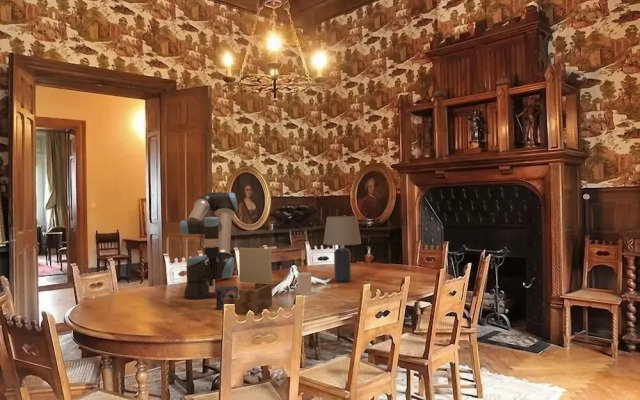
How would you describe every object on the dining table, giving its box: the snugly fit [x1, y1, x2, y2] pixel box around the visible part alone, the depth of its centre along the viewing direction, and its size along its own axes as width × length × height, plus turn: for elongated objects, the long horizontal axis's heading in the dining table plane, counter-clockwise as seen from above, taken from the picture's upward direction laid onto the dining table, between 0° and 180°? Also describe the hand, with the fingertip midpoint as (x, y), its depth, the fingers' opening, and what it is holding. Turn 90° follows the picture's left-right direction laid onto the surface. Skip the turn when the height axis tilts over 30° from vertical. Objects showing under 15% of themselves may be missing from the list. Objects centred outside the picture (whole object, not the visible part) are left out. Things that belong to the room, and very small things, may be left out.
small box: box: [215, 285, 239, 310], centre depth 265 cm, size 11×6×10 cm, turn 105°
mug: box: [292, 272, 313, 296], centre depth 299 cm, size 12×8×12 cm
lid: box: [238, 247, 273, 284], centre depth 271 cm, size 18×18×2 cm
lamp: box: [323, 215, 362, 283], centre depth 341 cm, size 25×25×43 cm
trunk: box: [223, 283, 273, 316], centre depth 262 cm, size 18×20×12 cm
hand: (212, 291), depth 267 cm, fingers closed
